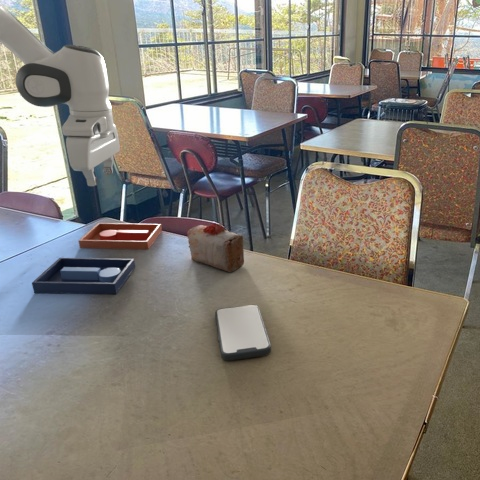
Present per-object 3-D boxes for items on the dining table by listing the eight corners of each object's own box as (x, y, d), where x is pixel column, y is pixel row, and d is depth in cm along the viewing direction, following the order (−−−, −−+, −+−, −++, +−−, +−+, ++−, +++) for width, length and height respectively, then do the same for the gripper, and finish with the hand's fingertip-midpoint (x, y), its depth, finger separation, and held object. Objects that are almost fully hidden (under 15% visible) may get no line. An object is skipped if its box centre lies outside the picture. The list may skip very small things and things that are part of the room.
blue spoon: (58, 282, 105) (56, 273, 104) (68, 272, 109) (67, 264, 108) (117, 283, 105) (115, 274, 104) (124, 273, 109) (123, 265, 108)
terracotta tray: (80, 249, 122) (78, 240, 121) (99, 231, 133) (98, 222, 132) (148, 250, 122) (147, 241, 121) (162, 232, 133) (161, 223, 132)
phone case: (214, 315, 96) (221, 363, 82) (214, 308, 95) (221, 355, 81) (258, 310, 98) (272, 356, 84) (258, 303, 97) (272, 348, 83)
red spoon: (151, 235, 129) (150, 228, 129) (146, 242, 125) (145, 235, 124) (104, 234, 129) (103, 227, 128) (97, 241, 125) (96, 234, 124)
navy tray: (34, 293, 101) (31, 282, 100) (61, 267, 113) (59, 257, 112) (116, 294, 102) (114, 284, 101) (135, 268, 113) (134, 258, 112)
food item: (184, 261, 117) (181, 223, 113) (207, 250, 123) (204, 214, 119) (227, 275, 111) (225, 236, 107) (249, 263, 117) (248, 225, 113)
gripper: (97, 113, 120) (104, 167, 125) (57, 129, 101) (68, 191, 107) (122, 115, 120) (129, 168, 126) (87, 130, 101) (97, 192, 107)
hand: (100, 179), depth 116 cm, fingers open, 8 cm apart
